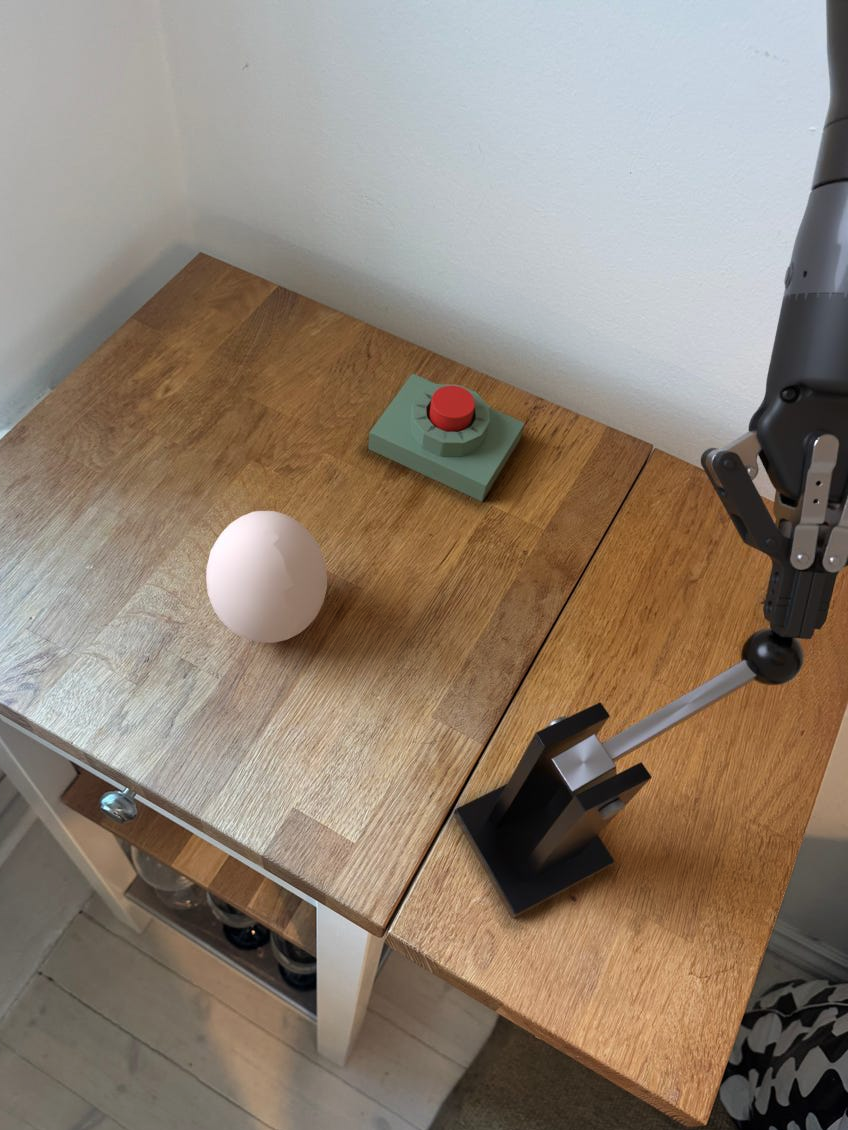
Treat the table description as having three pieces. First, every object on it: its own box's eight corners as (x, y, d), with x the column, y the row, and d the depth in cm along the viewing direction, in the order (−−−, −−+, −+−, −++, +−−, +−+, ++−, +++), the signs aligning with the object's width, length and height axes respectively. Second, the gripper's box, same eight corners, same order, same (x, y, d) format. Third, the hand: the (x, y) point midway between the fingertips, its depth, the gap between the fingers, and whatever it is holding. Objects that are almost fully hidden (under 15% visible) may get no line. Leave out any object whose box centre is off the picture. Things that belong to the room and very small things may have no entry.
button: (440, 393, 79) (443, 379, 77) (478, 410, 78) (482, 395, 77) (421, 421, 77) (424, 406, 76) (460, 438, 77) (463, 424, 75)
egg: (304, 558, 74) (305, 465, 64) (341, 647, 71) (347, 564, 61) (199, 586, 72) (182, 496, 62) (231, 680, 69) (218, 600, 59)
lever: (774, 628, 53) (783, 609, 50) (810, 673, 52) (821, 655, 49) (549, 761, 54) (545, 749, 51) (579, 808, 53) (577, 799, 50)
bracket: (548, 767, 67) (611, 667, 53) (610, 866, 64) (695, 787, 50) (452, 814, 65) (493, 723, 51) (511, 919, 61) (572, 851, 48)
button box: (410, 390, 84) (414, 357, 80) (520, 440, 82) (529, 408, 78) (368, 449, 80) (370, 417, 77) (482, 502, 78) (490, 471, 75)
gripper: (764, 275, 41) (692, 644, 46) (1054, 302, 42) (951, 666, 47) (706, 288, 49) (649, 606, 54) (953, 311, 49) (874, 626, 54)
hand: (790, 634), depth 50 cm, fingers closed
